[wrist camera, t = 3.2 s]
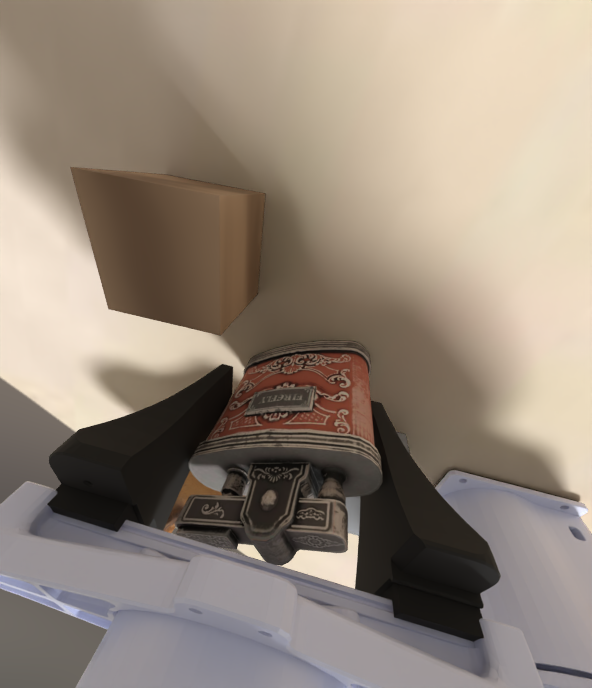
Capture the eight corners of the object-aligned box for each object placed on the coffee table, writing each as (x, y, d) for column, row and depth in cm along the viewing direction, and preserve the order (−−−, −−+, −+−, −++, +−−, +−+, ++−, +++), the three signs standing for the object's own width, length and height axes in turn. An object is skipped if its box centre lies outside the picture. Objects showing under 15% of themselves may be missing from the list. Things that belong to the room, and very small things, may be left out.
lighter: (365, 332, 14) (384, 532, 6) (373, 379, 16) (398, 591, 8) (240, 352, 17) (128, 515, 8) (258, 391, 18) (178, 563, 10)
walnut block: (265, 193, 12) (219, 195, 8) (258, 293, 15) (220, 335, 10) (166, 174, 12) (70, 167, 8) (176, 275, 15) (108, 309, 11)
